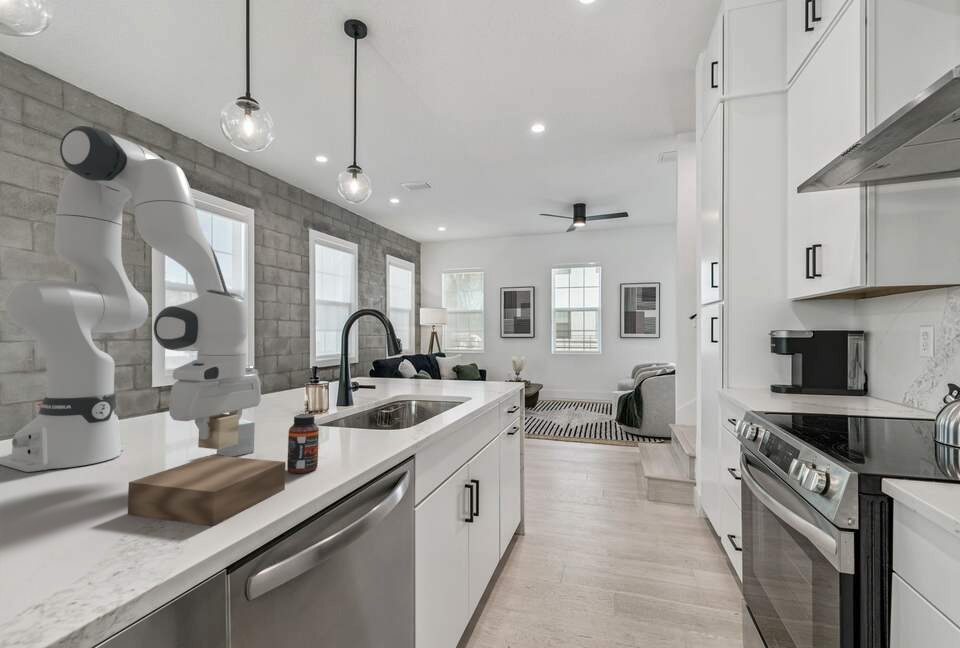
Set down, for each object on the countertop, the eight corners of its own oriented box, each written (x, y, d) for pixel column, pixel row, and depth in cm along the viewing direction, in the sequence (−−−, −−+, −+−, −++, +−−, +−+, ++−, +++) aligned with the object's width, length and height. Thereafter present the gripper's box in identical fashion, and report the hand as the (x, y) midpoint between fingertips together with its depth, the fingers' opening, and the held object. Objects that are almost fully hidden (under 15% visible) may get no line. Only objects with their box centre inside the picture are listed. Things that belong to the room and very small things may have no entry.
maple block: (198, 447, 89) (199, 417, 89) (218, 441, 94) (219, 413, 94) (218, 449, 88) (220, 419, 88) (237, 443, 93) (239, 415, 93)
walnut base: (127, 514, 68) (128, 482, 68) (211, 481, 84) (212, 455, 84) (213, 526, 65) (214, 491, 65) (284, 489, 80) (285, 461, 80)
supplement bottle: (307, 475, 88) (308, 419, 89) (280, 473, 90) (282, 417, 90) (323, 466, 94) (324, 413, 95) (298, 464, 95) (299, 412, 96)
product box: (254, 452, 105) (255, 421, 105) (227, 458, 100) (228, 425, 100) (242, 448, 108) (243, 418, 108) (215, 453, 103) (216, 422, 103)
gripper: (246, 364, 102) (243, 424, 102) (164, 371, 82) (161, 445, 82) (269, 365, 101) (266, 426, 100) (192, 373, 81) (189, 448, 80)
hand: (218, 435), depth 91 cm, fingers closed on maple block, 5 cm apart
